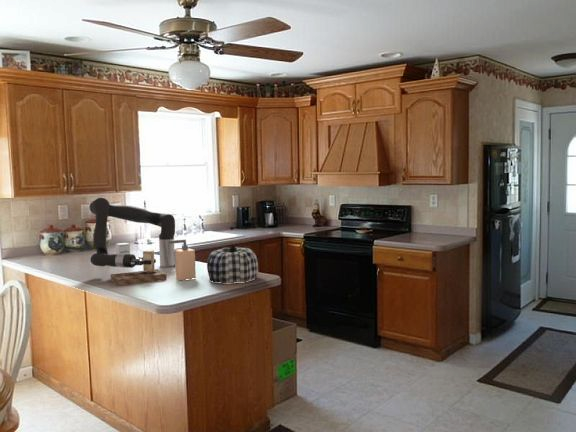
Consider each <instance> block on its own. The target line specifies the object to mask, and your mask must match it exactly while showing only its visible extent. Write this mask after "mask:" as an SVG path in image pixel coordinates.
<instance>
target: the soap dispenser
mask: <svg viewBox="0 0 576 432" xmlns="http://www.w3.org/2000/svg"><path fill="white" fill-rule="evenodd" d="M169 243H170V244H172V243H174V244H181V243H183V244H182V245H181V248H179V249H174V250H175V260H176V265H175V278H176V280H178V279H179V280H178V281H180V280H185V281H187V280H186V279H192V278H197V276H196V275H197V274H196V250H195V249H192V248H188V247H189V246H188V245H187V239H174V240H172V241H169Z"/></svg>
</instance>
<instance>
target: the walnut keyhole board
mask: <svg viewBox="0 0 576 432" xmlns="http://www.w3.org/2000/svg"><path fill="white" fill-rule="evenodd" d="M151 272H152V274H147V271H143V270H138V271H130V272H122V273H121V272H120V273H112V274H110V280H111V282H112V283H114V284H115V285H117V286H118V287H121V286H122V287H123V286H128V285H130V286H131V285H136V284H137V285H138V284H146V283H153V282H152V281H154V282H159V281H158V280H162V281H167V273H166V272H164V271H162V270H160V269H157V268H156V269H155V270H153V271H151ZM145 282H146V283H145Z"/></svg>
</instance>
